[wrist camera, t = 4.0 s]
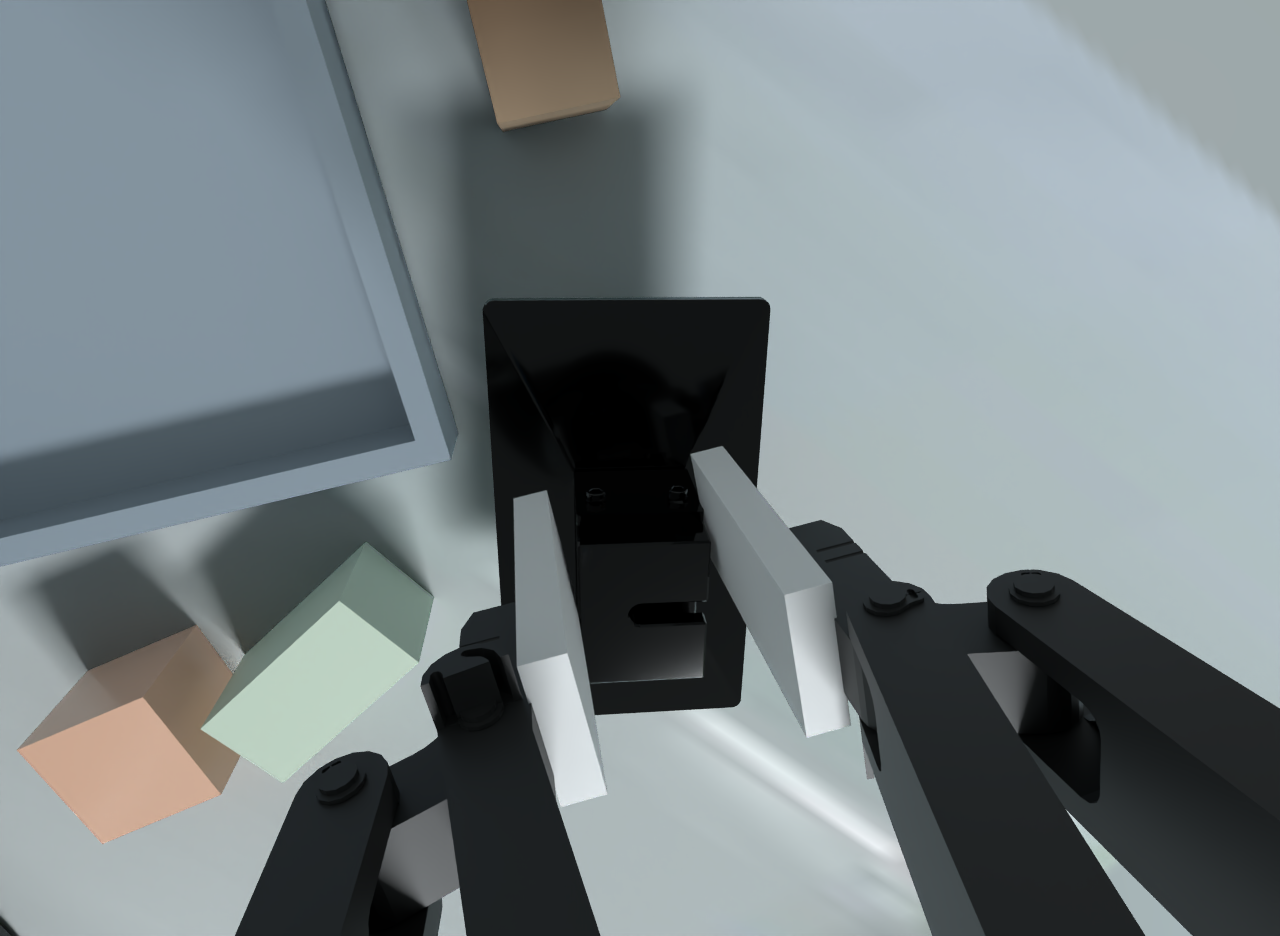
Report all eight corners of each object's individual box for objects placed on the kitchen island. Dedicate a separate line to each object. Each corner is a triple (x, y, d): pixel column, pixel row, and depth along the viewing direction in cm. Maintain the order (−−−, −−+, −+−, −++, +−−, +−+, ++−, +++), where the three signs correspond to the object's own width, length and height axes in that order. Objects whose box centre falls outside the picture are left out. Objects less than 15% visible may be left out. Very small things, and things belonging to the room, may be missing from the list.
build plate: (737, 697, 25) (775, 815, 20) (500, 710, 24) (488, 836, 20) (768, 296, 20) (826, 341, 15) (471, 297, 19) (447, 346, 15)
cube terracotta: (159, 755, 28) (102, 843, 24) (88, 669, 27) (17, 750, 23) (262, 711, 28) (220, 794, 24) (197, 623, 26) (142, 696, 23)
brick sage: (315, 702, 28) (282, 782, 24) (245, 652, 27) (200, 728, 23) (434, 596, 27) (418, 662, 24) (366, 540, 26) (339, 600, 23)
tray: (-102, 565, 24) (-168, 606, 22) (-557, -157, 18) (-722, -207, 15) (458, 433, 25) (450, 460, 23) (230, -305, 18) (187, -375, 16)
